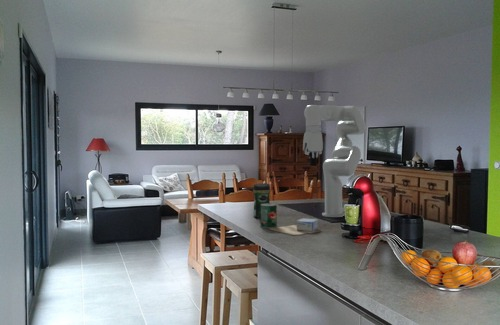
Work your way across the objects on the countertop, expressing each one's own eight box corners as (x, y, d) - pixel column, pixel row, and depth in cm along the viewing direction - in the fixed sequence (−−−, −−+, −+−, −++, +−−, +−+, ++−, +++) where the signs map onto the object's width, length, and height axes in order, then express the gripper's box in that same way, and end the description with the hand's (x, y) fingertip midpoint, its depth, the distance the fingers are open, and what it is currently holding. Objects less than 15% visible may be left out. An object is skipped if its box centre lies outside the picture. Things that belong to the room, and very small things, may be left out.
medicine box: (302, 226, 219) (296, 230, 211) (302, 217, 219) (296, 220, 211) (318, 228, 215) (312, 231, 208) (318, 219, 215) (312, 222, 207)
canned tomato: (275, 228, 218) (275, 205, 218) (259, 227, 220) (259, 205, 219) (277, 225, 226) (277, 203, 226) (262, 224, 228) (262, 203, 227)
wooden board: (295, 225, 225) (295, 224, 225) (320, 231, 210) (320, 230, 210) (269, 229, 216) (269, 228, 216) (293, 235, 201) (293, 234, 201)
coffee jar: (269, 215, 256) (269, 182, 255) (271, 217, 248) (271, 183, 247) (252, 215, 255) (251, 182, 254) (254, 218, 247) (254, 184, 246)
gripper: (319, 129, 238) (319, 164, 239) (297, 129, 230) (297, 166, 231) (329, 129, 232) (329, 165, 233) (307, 129, 223) (307, 166, 224)
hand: (313, 165), depth 232 cm, fingers closed
